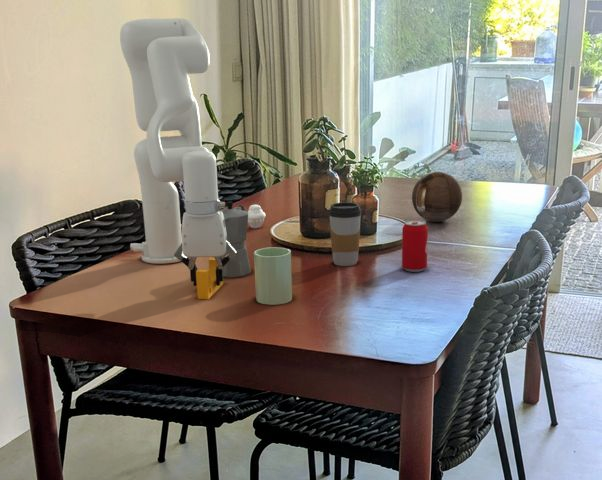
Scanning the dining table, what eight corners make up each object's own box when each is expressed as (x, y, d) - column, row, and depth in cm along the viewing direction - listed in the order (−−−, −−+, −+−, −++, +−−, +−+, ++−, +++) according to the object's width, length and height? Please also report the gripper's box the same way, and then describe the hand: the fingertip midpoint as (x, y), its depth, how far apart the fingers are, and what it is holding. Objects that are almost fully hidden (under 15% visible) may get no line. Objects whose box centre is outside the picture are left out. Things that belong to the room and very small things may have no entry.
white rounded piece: (242, 228, 261) (241, 205, 258) (251, 224, 266) (249, 201, 264) (261, 229, 259) (260, 206, 256) (269, 225, 264) (268, 202, 261)
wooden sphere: (446, 214, 273) (448, 166, 267) (470, 224, 259) (472, 173, 254) (403, 218, 268) (404, 170, 263) (424, 228, 255) (426, 177, 250)
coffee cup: (327, 259, 226) (326, 202, 221) (359, 258, 227) (359, 201, 221) (331, 268, 219) (330, 209, 213) (363, 266, 219) (363, 208, 214)
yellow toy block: (205, 283, 209) (204, 257, 207) (223, 283, 208) (221, 257, 206) (190, 298, 198) (188, 271, 196) (208, 299, 197) (206, 271, 195)
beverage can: (429, 266, 217) (430, 219, 213) (424, 273, 212) (425, 225, 208) (404, 265, 219) (405, 218, 215) (399, 271, 214) (399, 224, 210)
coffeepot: (241, 281, 210) (237, 207, 203) (205, 278, 212) (200, 206, 206) (263, 264, 223) (260, 195, 217) (229, 262, 226) (225, 193, 220)
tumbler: (254, 305, 192) (252, 257, 188) (257, 293, 200) (255, 247, 196) (291, 304, 192) (290, 256, 188) (292, 293, 200) (291, 247, 196)
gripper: (240, 203, 199) (244, 279, 206) (167, 204, 200) (173, 280, 206) (238, 210, 192) (242, 288, 199) (162, 211, 193) (168, 289, 199)
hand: (207, 283), depth 202 cm, fingers closed on yellow toy block, 4 cm apart
